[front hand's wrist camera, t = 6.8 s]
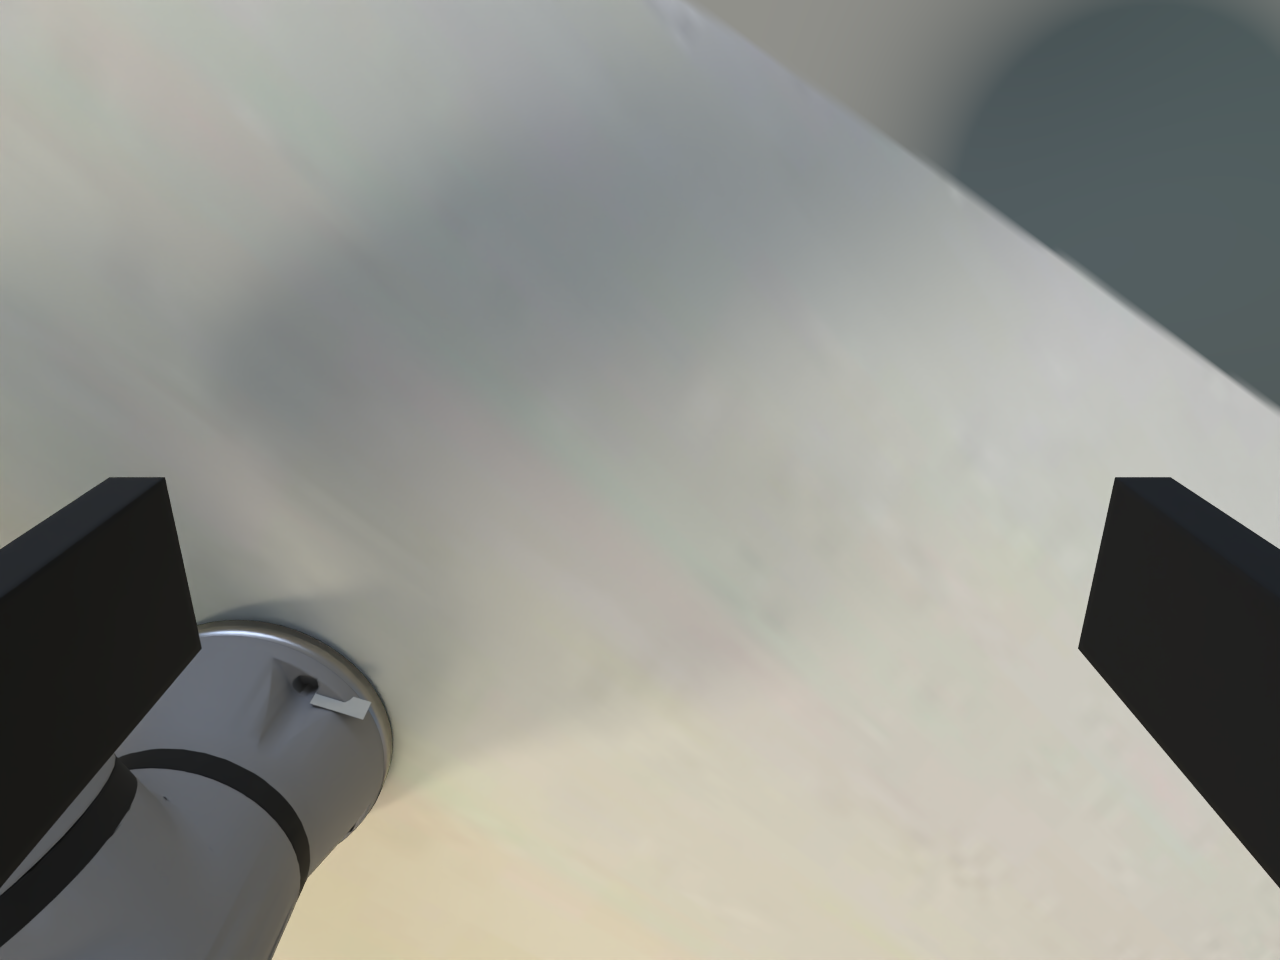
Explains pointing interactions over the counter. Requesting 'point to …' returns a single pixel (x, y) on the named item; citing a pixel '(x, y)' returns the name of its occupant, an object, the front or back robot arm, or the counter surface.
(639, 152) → the counter surface
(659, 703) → the counter surface
